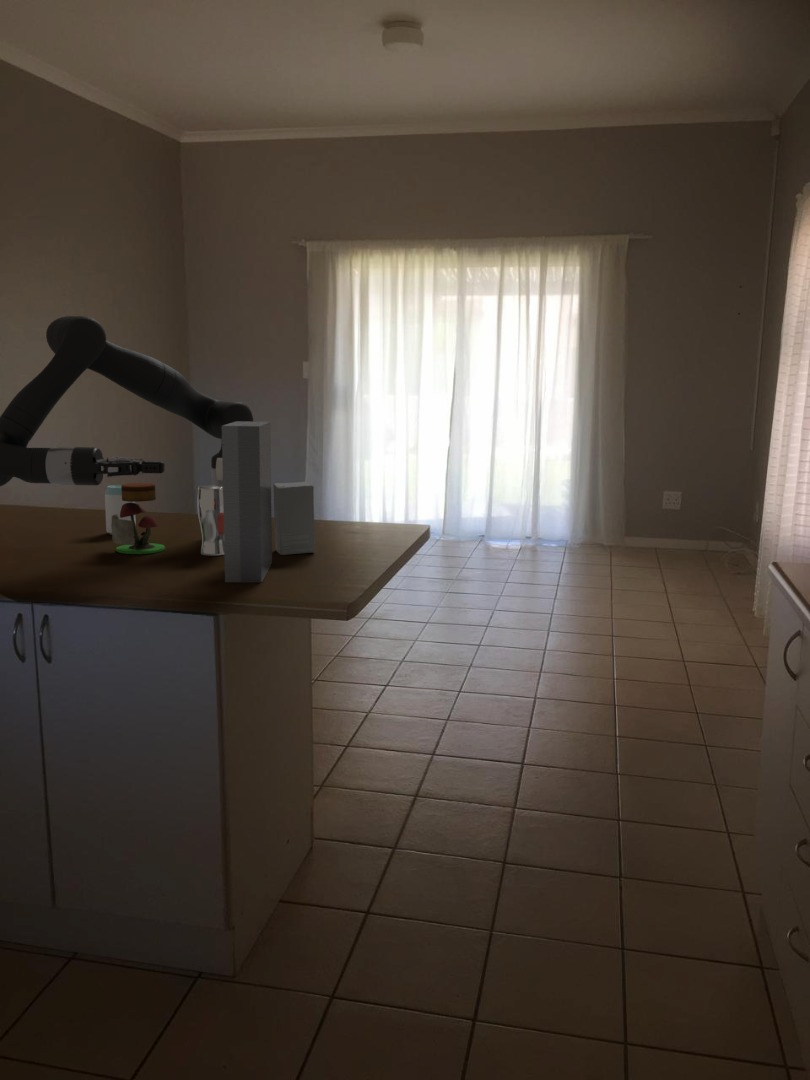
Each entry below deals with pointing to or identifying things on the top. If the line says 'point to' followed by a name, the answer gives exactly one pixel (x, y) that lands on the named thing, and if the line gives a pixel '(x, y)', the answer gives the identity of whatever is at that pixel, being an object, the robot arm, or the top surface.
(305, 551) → the skincare box
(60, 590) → the top surface
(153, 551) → the mushroom figurine
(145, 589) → the top surface
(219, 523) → the red button
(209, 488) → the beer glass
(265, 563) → the tall grey block
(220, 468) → the white cylinder
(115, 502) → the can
